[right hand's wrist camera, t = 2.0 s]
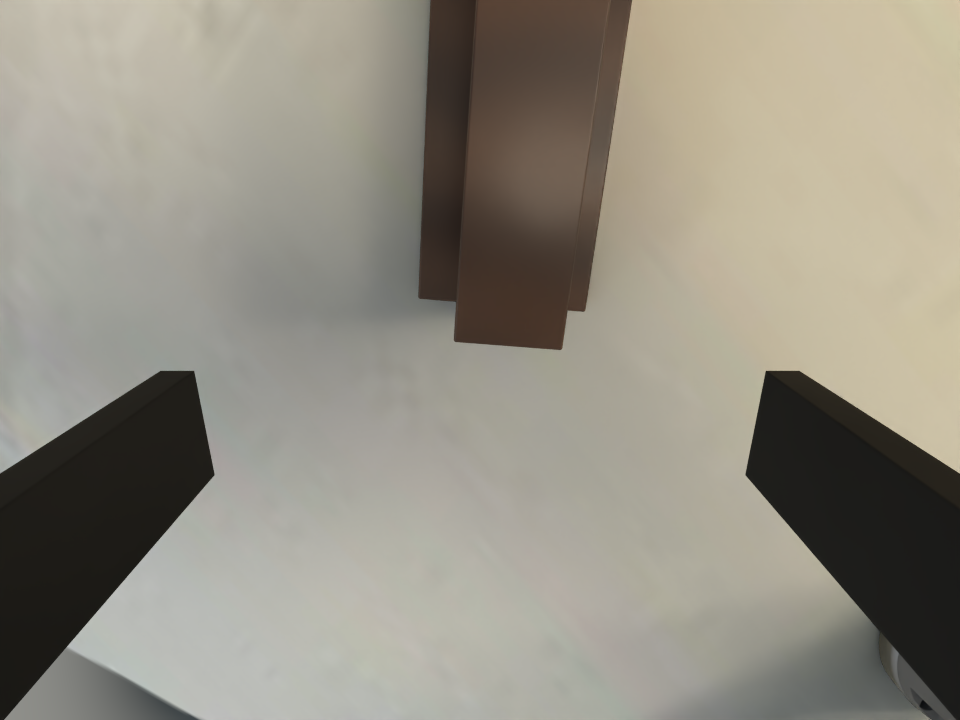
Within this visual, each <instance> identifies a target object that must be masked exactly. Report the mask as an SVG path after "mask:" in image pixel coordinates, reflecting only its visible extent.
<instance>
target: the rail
mask: <svg viewBox="0 0 960 720" xmlns="http://www.w3.org/2000/svg"><path fill="white" fill-rule="evenodd" d="M631 3H632V0H431V5H430V29H429V53H428V77H427V102H426V126H425V150H424V174H423V198H422V223H421V247H420V271H419V295H418V297H419V298H420V299H430V300H442V301H455V302H456V314H455V329H454V341H455V342H463V343H476V344H489V345H502V346H515V347H528V348H541V349H554V350H561V349H562V346H563V339H564V332H565V325H566V318H567V310H569V311H582V312H584V311H585V309H586V302H587V295H588V289H589V282H590V275H591V269H592V262H593V256H594V249H595V242H596V236H597V229H598V222H599V216H600V209H601V202H602V196H603V189H604V183H605V176H606V169H607V163H608V156H609V149H610V143H611V136H612V129H613V123H614V116H615V110H616V103H617V96H618V90H619V83H620V76H621V70H622V63H623V56H624V50H625V43H626V37H627V30H628V23H629V17H630V10H631Z"/></svg>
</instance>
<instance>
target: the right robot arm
mask: <svg viewBox="0 0 960 720" xmlns="http://www.w3.org/2000/svg"><path fill="white" fill-rule="evenodd" d="M213 476H214V470H213V464H212V459H211V454H210V449H209V444H208V439H207V434H206V429H205V424H204V419H203V414H202V409H201V404H200V399H199V394H198V389H197V383H196V378H195V373H194V371H160V372H158V373H157V374H155V375H154V376H152V377H150V378H149V379H147V380H146V381H144V382H143V383H141V384H140V385H138V386H136V387H135V388H133V389H132V390H130V391H129V392H127V393H125V394H124V395H122V396H121V397H119V398H118V399H116V400H115V401H113V402H111V403H110V404H108V405H107V406H105V407H104V408H102V409H100V410H99V411H97V412H96V413H94V414H93V415H91V416H90V417H88V418H86V419H85V420H83V421H82V422H80V423H79V424H77V425H76V426H74V427H72V428H71V429H69V430H68V431H66V432H65V433H63V434H61V435H60V436H58V437H57V438H55V439H54V440H52V441H51V442H49V443H47V444H46V445H44V446H43V447H41V448H40V449H38V450H36V451H35V452H33V453H32V454H30V455H29V456H27V457H26V458H24V459H22V460H21V461H19V462H18V463H16V464H15V465H13V466H12V467H10V468H8V469H7V470H5V471H4V472H2V473H1V474H0V720H4V719H5V718H6V717H7V716H8V715H9V713H10V712H11V711H12V710H13V709H14V708H15V706H16V705H17V704H18V703H19V702H20V701H21V699H22V698H23V697H24V696H25V695H26V694H27V692H28V691H29V690H30V689H31V688H32V687H33V685H34V684H35V683H36V682H37V681H38V680H39V678H40V677H41V676H42V675H43V674H44V673H45V671H46V670H47V669H48V668H49V667H50V666H51V664H52V663H53V662H54V661H55V660H56V659H57V658H58V656H59V655H60V654H61V653H62V652H63V651H64V649H65V648H66V647H67V646H68V645H69V644H70V642H71V641H72V640H73V639H74V638H75V637H76V635H77V634H78V633H79V632H80V631H81V630H82V628H83V627H84V626H85V625H86V624H87V623H88V622H89V620H90V619H91V618H92V617H93V616H94V615H95V613H96V612H97V611H98V610H99V609H100V608H101V606H102V605H103V604H104V603H105V602H106V601H107V599H108V598H109V597H110V596H111V595H112V594H113V592H114V591H115V590H116V589H117V588H118V587H119V585H120V584H121V583H122V582H123V581H124V580H125V578H126V577H127V576H128V575H129V574H130V573H131V572H132V570H133V569H134V568H135V567H136V566H137V565H138V563H139V562H140V561H141V560H142V559H143V558H144V556H145V555H146V554H147V553H148V552H149V551H150V549H151V548H152V547H153V546H154V545H155V544H156V542H157V541H158V540H159V539H160V538H161V537H162V535H163V534H164V533H165V532H166V531H167V530H168V529H169V527H170V526H171V525H172V524H173V523H174V522H175V520H176V519H177V518H178V517H179V516H180V515H181V513H182V512H183V511H184V510H185V509H186V508H187V506H188V505H189V504H190V503H191V502H192V501H193V499H194V498H195V497H196V496H197V495H198V494H199V492H200V491H201V490H202V489H203V488H204V487H205V485H206V484H207V483H208V482H209V481H210V480H211V479H212V477H213ZM746 476H747V477H748V479H749V480H750V481H751V482H752V483H753V484H754V485H755V487H756V488H757V489H758V490H759V491H760V492H761V494H762V495H763V496H764V497H765V498H766V499H767V501H768V502H769V503H770V504H771V505H772V506H773V508H774V509H775V510H776V511H777V512H778V513H779V515H780V516H781V517H782V518H783V519H784V520H785V522H786V523H787V524H788V525H789V526H790V527H791V529H792V530H793V531H794V532H795V533H796V534H797V535H798V537H799V538H800V539H801V540H802V541H803V542H804V544H805V545H806V546H807V547H808V548H809V549H810V551H811V552H812V553H813V554H814V555H815V556H816V558H817V559H818V560H819V561H820V562H821V563H822V565H823V566H824V567H825V568H826V569H827V570H828V572H829V573H830V574H831V575H832V576H833V577H834V578H835V580H836V581H837V582H838V583H839V584H840V585H841V587H842V588H843V589H844V590H845V591H846V592H847V594H848V595H849V596H850V597H851V598H852V599H853V601H854V602H855V603H856V604H857V605H858V606H859V608H860V609H861V610H862V611H863V612H864V613H865V615H866V616H867V617H868V618H869V619H870V620H871V622H872V623H873V624H874V625H875V626H876V627H877V628H878V630H879V631H880V638H879V652H880V658H881V661H882V664H883V666H884V668H885V670H886V672H887V674H888V675H889V677H890V678H891V679H892V680H893V682H894V683H895V684H896V685H897V687H898V688H899V689H900V690H901V692H902V693H903V694H904V695H905V697H906V698H907V699H908V700H909V701H910V702H911V703H912V705H914V706H915V707H916V708H917V709H918V710H920V711H921V712H922V713H924V714H925V715H926V716H927V717H929V718H930V719H932V720H960V474H959V473H958V472H956V471H955V470H953V469H952V468H950V467H948V466H947V465H945V464H944V463H942V462H941V461H939V460H938V459H936V458H934V457H933V456H931V455H930V454H928V453H927V452H925V451H924V450H922V449H920V448H919V447H917V446H916V445H914V444H913V443H911V442H909V441H908V440H906V439H905V438H903V437H902V436H900V435H899V434H897V433H895V432H894V431H892V430H891V429H889V428H888V427H886V426H884V425H883V424H881V423H880V422H878V421H877V420H875V419H874V418H872V417H870V416H869V415H867V414H866V413H864V412H863V411H861V410H860V409H858V408H856V407H855V406H853V405H852V404H850V403H849V402H847V401H845V400H844V399H842V398H841V397H839V396H838V395H836V394H835V393H833V392H831V391H830V390H828V389H827V388H825V387H824V386H822V385H820V384H819V383H817V382H816V381H814V380H813V379H811V378H810V377H808V376H806V375H805V374H803V373H802V372H800V371H766V373H765V378H764V383H763V389H762V394H761V399H760V404H759V409H758V414H757V419H756V424H755V429H754V434H753V439H752V444H751V449H750V454H749V459H748V464H747V470H746Z"/></svg>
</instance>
